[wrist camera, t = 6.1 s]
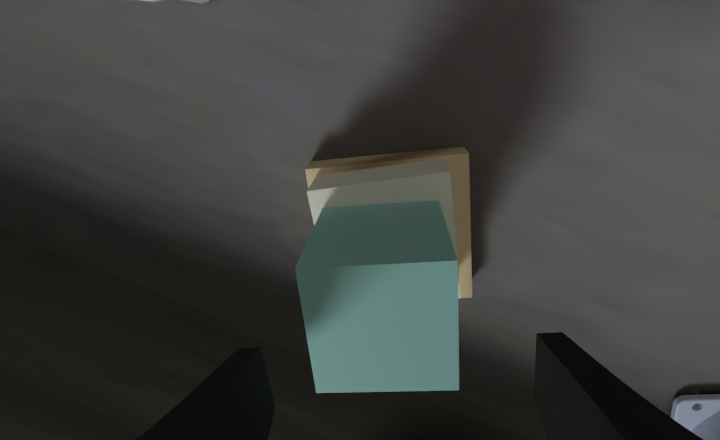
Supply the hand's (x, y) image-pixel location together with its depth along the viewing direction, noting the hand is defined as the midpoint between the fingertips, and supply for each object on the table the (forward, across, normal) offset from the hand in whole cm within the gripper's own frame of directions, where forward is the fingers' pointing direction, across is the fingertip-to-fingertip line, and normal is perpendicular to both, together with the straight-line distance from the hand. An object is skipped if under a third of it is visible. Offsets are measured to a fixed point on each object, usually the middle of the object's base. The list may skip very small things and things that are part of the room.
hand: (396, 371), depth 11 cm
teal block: (+6, 0, 0) cm, 7 cm away
